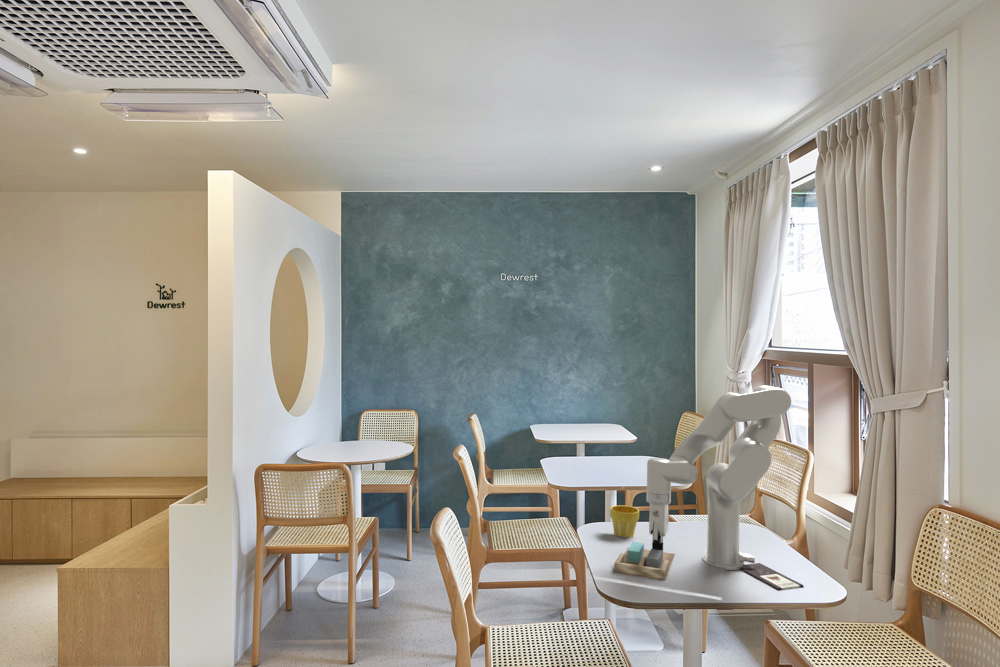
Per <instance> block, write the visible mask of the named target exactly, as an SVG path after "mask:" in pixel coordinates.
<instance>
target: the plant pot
mask: <svg viewBox="0 0 1000 667" xmlns="http://www.w3.org/2000/svg"><path fill="white" fill-rule="evenodd" d="M609 517H610V519H611V521H612V525H613V526H612V527H613V532H614V536H618V537H622V538H623V537H624V538H632V539H633V538H634V535H635V531H636V526H637V522H638V521H639V520H640V510H639V509H638V508H637V507H634V506H630V505H624V504H623V505H621V504H619V505H613V506H611V507H610V510H609Z"/></svg>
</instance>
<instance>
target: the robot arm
mask: <svg viewBox="0 0 1000 667" xmlns="http://www.w3.org/2000/svg"><path fill="white" fill-rule="evenodd" d="M791 405H792V397H791V396H790V394H789V392H788V391H786V390H785V389H783V388H780V387H777V386H771V385H766V384H765V385H758V386H756V387H755V388H754V389H753V391H752V392H748V393H736V392H725V393H723V394H721V395H720V397H718V399H717V400H716V402H715V403H714V404H713V405H712V407H711V409H710V410H709V411H708V412H707V414H706V415H705V416H704V418H703V419H702V421H700V423H699V424H698V426H697V427H696V428H694V430H693V431H691V432H690V433H689V434H688V435H687V436H686V437H685V438H684V439H683V440H682V441H681V442H680V444H679V445H678V446H677V447H676V449H675V450H674V451H673V453H672V454H671V455H670V457H669V459H667V458H662V457H652V458H651V457H650V458H649V459H648V460H647V462H646V469H647V470H646V502H647V503H649V513H648V514H649V515H648V516H649V518H648V519H649V520H648V521H649V522H648V525H649V526H648V527H649V528H648V530H649V532H648V533H649V535H650V536H652V542H651V543H652V544H651V547H652V548H651V549H656V550H663V551H664V537H665V536H666V535H667V533H668V532H669V530H670V528H669V526H670V525H669V524H670V523H669V505H670V504H671V502H672V499H671V498H672V484H673V483H674V484H678V485H683V486H684V485H691V484H693V483H695V482H696V481H697V480H698V477H699V470H698V468H697V466H696V465H695V462H697V460H698V459H699V458H700V456H701V455H702V454H704V453H705V452H706V451H708V450H710V449H711V448H712V449H713V448H715V447H717V446H719V445H720V444H721V443H722V442H723V441H724V440H725V438H726V437H727V435H728V434H729V433H730V431H731V430H732V429H733V428H734V426H735V425H736V424H737V423H738V422H739V423H744V422H745V423H746V422H749V424H748V425H747V427H746V428H745V429H744V430H743V431H742V433H740V435H739V436H738V438H737V439H736V440H734V442H733V443H732V445H731V447H730V448H729V456H730V459H731V461H732V462H731V464H728V463H725V462H717V463H714V464H712V465H711V466H710V467H709V468H708V470H707V472H706V476H705V482H706V484H705V485H706V486H705V487H706V495H707V531H706V532H707V535H706V536H707V540H706V541H707V544H706V545H707V546H706V548H707V552H706V553H705V554H703V555H702V557H701V559H702V561H703V562H704V563H706V564H707V565H709V566H713V567H717V568H722V569H724V570H726V571H737V570H740V569H741V568H742V567H744V565H745V562H747V563H749V564H755V561H756V560H755V556H752V555H751V554H750V553H743V552H742V551H741V548H740V513H741V512H740V501H741V500H743V499H744V498H746V497H747V496H748V495H749V494H750V493H751V492H752V490H753V489H754V488H755V487H756V486H757V484H758V483H759V482H760V481H761V479H763V477H764V476H765V475H766V473H768V470H769V469H770V467H771V465H772V464H771V463H772V453H771V451H770V449H769V447H770V446H771V445H772V443H773V441H775V439H776V438H777V435H778V434H779V432H780V429H781V426H782V415H783V414H785V413H788V411H789V409H790V408H791Z"/></svg>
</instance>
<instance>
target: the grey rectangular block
mask: <svg viewBox="0 0 1000 667" xmlns="http://www.w3.org/2000/svg"><path fill="white" fill-rule="evenodd" d="M649 550H650V552H649V554H648V556H647V558H646V567H653V568H659V569H660V567H661V564H662V562H663V552H664V549H663V550H656V549H652V548H650V549H649Z"/></svg>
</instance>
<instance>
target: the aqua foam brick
mask: <svg viewBox="0 0 1000 667" xmlns="http://www.w3.org/2000/svg"><path fill="white" fill-rule="evenodd" d="M628 547H629V549H628V548H627V549H628V562H634V563H639V562H640V560H641V558H642V556H643V554H644V550H645V549H644V548H645V543H644V542H638V541H637V542H636V541H632V542H631V544H630V546H628Z"/></svg>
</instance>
